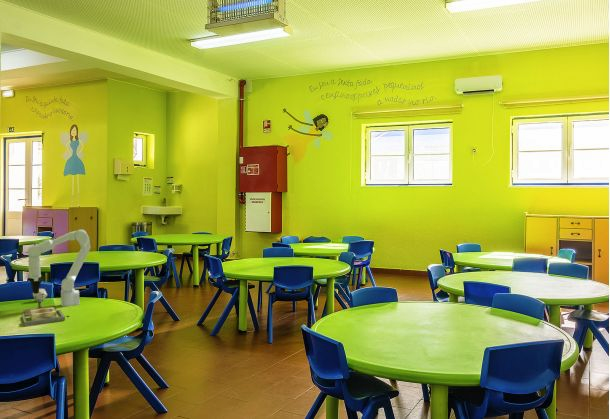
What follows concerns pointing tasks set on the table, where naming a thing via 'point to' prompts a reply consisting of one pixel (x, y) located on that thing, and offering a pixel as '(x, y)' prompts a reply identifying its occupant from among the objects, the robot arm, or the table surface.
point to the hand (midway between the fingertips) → (35, 292)
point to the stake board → (27, 311)
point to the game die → (40, 295)
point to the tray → (43, 321)
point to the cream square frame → (42, 313)
